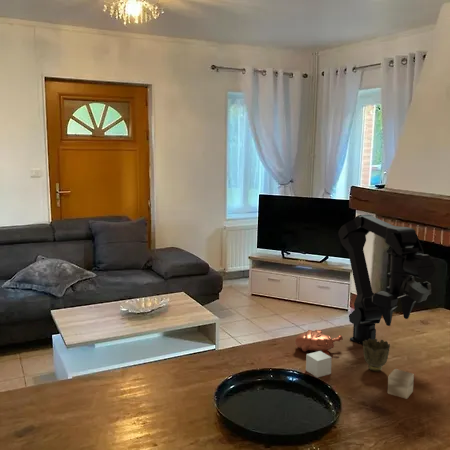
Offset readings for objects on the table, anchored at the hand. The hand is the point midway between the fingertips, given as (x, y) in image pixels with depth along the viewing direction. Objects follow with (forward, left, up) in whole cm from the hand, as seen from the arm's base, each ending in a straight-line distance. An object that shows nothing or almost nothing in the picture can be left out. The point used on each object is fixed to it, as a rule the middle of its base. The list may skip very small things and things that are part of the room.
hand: (397, 322), depth 147 cm
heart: (-20, -12, -12) cm, 26 cm away
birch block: (+12, -16, -12) cm, 23 cm away
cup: (0, -10, -12) cm, 16 cm away
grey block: (-9, -24, -12) cm, 28 cm away
